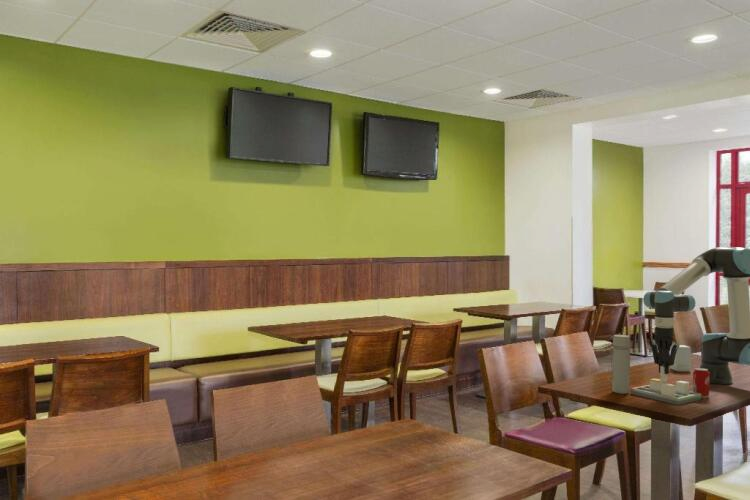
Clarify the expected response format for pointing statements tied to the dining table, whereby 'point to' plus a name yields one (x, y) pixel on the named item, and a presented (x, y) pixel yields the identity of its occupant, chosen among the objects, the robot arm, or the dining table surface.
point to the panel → (655, 394)
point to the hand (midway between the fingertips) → (663, 381)
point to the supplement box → (682, 359)
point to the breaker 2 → (683, 387)
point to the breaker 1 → (668, 389)
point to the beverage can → (701, 382)
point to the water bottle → (620, 364)
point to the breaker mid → (655, 384)
